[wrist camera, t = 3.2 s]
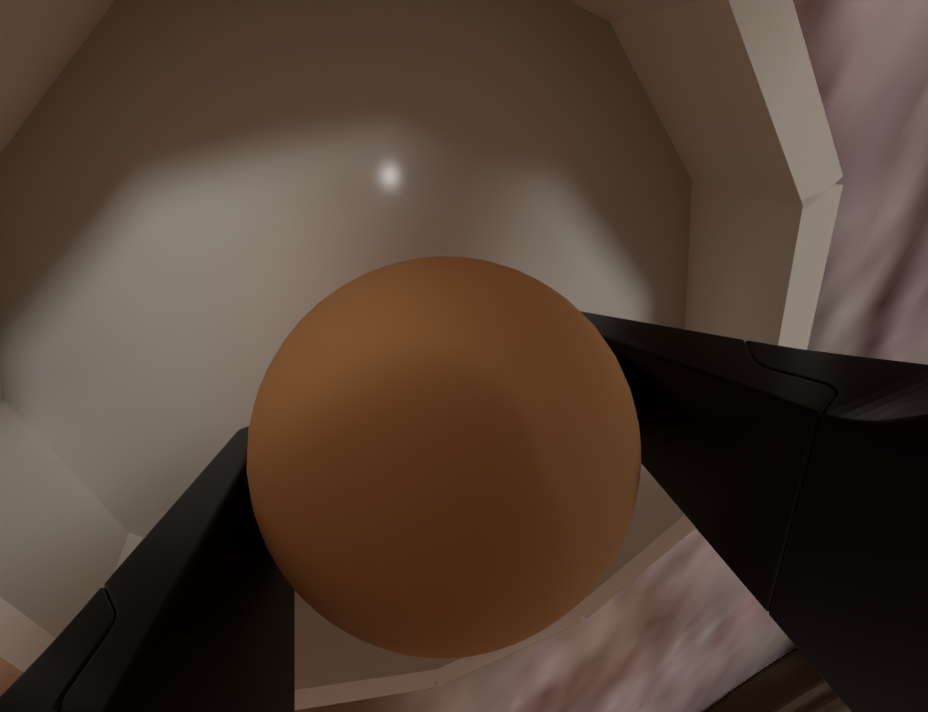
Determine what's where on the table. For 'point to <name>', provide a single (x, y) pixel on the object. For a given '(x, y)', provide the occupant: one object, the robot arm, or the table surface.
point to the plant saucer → (783, 690)
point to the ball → (443, 457)
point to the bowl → (359, 233)
